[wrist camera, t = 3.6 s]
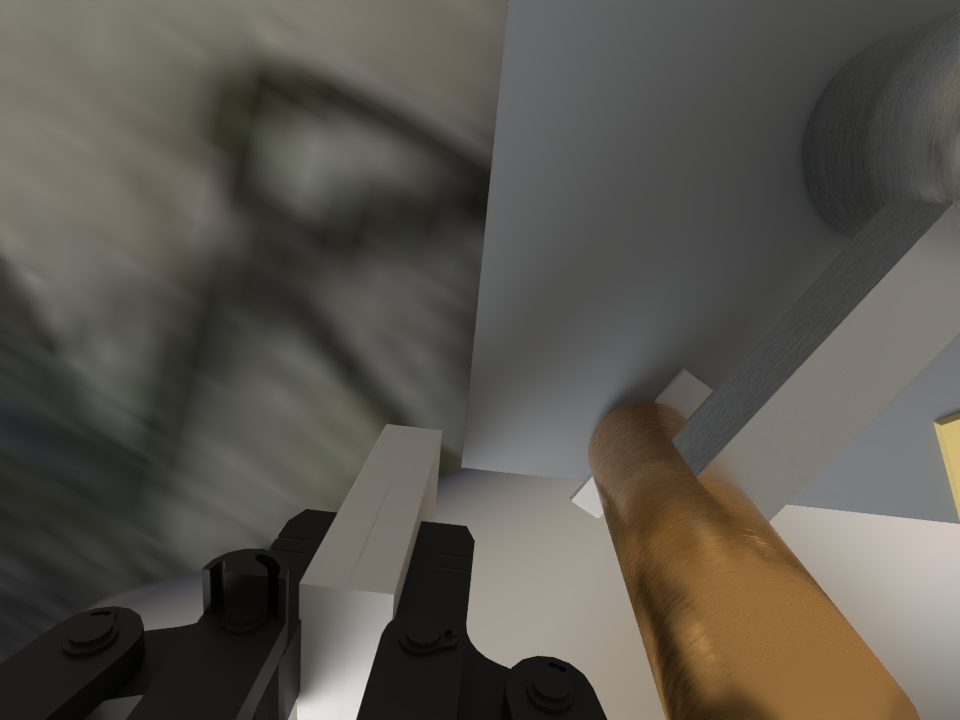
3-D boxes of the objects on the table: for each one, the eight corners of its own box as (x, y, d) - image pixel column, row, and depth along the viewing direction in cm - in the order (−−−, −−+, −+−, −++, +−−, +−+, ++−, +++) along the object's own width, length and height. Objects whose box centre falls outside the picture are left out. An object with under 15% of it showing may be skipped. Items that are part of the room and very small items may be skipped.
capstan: (916, -24, 13) (1847, -530, 4) (1069, 115, 13) (2179, -48, 5) (537, 438, 16) (571, 728, 7) (672, 531, 17) (854, 904, 8)
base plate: (462, 475, 19) (456, 512, 17) (545, -349, 13) (553, -457, 11) (1066, 544, 19) (1140, 590, 17) (1427, -274, 13) (1616, -371, 11)
